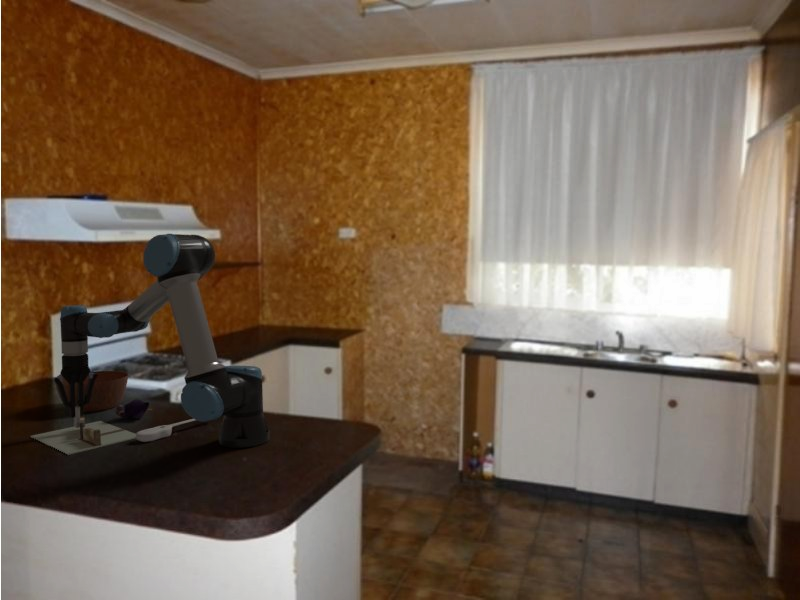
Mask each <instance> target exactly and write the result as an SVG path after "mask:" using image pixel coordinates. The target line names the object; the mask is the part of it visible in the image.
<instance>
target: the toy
mask: <svg viewBox="0 0 800 600" xmlns="http://www.w3.org/2000/svg"><path fill="white" fill-rule="evenodd" d="M149 407H150V402H148V401H142V399H140V398H137V397H136V398H135V399H133V400H130V402H128V403H126V404H125V405H122V404H118V405H117V406H116V408H114V409H113V410H114V413H115V414H116V415H117V416H119V417H121V418H123V419H129V420H133V419H136V420H140V419H141V418H143V416H144V415H145V414H146V413H147V411H154V409H152V408H149Z"/></svg>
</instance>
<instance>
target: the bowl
mask: <svg viewBox="0 0 800 600" xmlns="http://www.w3.org/2000/svg"><path fill="white" fill-rule="evenodd" d="M92 372H93V373H96V374H97V375H98V377H97V378H96V380H95V381H94V386H93V390H92V394H91V398H90V402H89V404H86V405H84V407H83V413H93V412H95V413H96V412H103V411H106V410H109V409H113V408H115V407H117V406H119V405H120V403H121V401H122V400H123V398H124V396H125V395H124V394H125V393H126V389H127V385H128V380H129V373H128V372H125V371H118V370H99V371H92ZM88 376H89V375H88ZM88 376H87V377H86V379H85V380H84V385H83V398H84V397H85V393H86V389H87V384H88V380H89V377H88ZM62 379H63V381H62V384H63V387H64V390H65V393H66V396H67V399H68V402H69V385H68V382H67V381H66V380H65V379H64V378H63V377H62ZM54 384H55V388H56V391H57V394H58V396H59V398H60V401H62V399H61V396H60V393H59V389H58V386H57V384H56V383H55V382H54ZM75 405H76V406H78V398H77V383H75ZM66 409H68V410H69V411H70V407H66Z"/></svg>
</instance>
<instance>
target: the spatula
mask: <svg viewBox="0 0 800 600" xmlns="http://www.w3.org/2000/svg"><path fill="white" fill-rule="evenodd" d="M195 421H197V420H195V419H194V418H191V419H188V420H187V419H186V420H183V421H180V422H176V423H175V422H174V423H171V424H165V425H158V426H155V427H151V428H150V427H149V428H145V429H142V430H139V431H137V432H136V433H135V434H136V438H135V440H137V441H138V442H141V443H147V442H153V441H157V440H159V439H163V438H168V437H170V436H171V435H172V429H173V427H177V426H180V425H184V424H187V423H191V422H195Z"/></svg>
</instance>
